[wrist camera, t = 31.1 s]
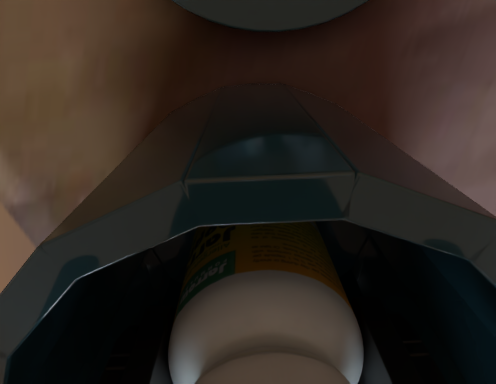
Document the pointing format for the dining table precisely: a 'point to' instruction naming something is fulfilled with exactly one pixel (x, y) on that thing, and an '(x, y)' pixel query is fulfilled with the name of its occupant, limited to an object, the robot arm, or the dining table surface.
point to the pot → (255, 212)
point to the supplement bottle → (263, 310)
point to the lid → (269, 12)
